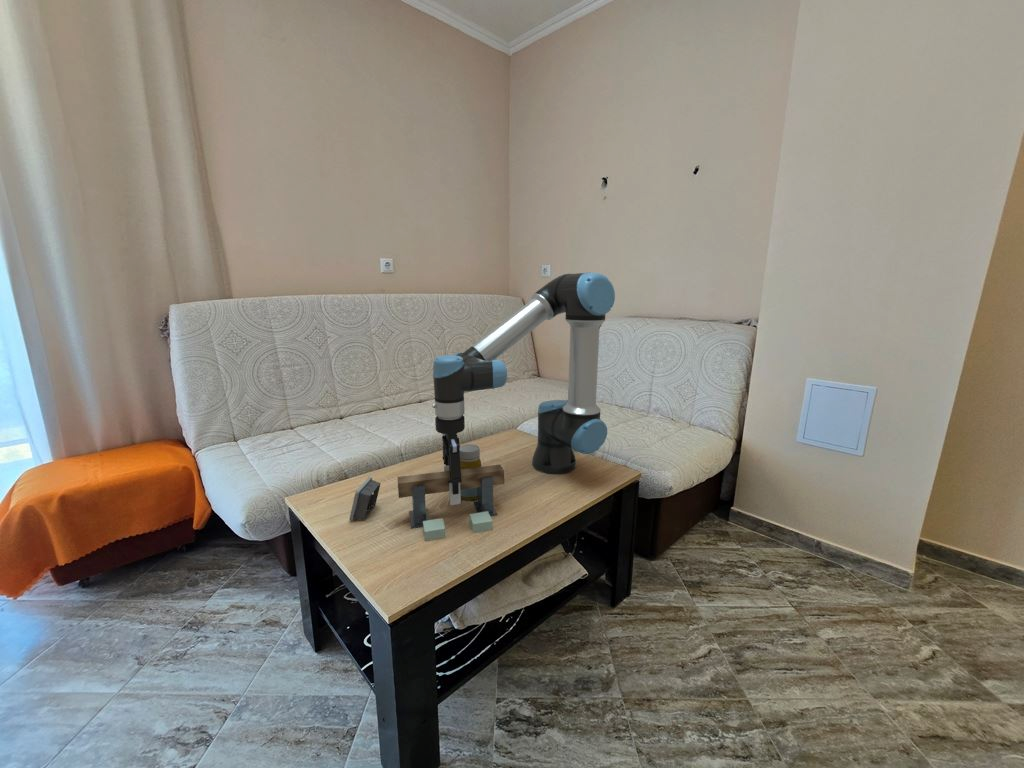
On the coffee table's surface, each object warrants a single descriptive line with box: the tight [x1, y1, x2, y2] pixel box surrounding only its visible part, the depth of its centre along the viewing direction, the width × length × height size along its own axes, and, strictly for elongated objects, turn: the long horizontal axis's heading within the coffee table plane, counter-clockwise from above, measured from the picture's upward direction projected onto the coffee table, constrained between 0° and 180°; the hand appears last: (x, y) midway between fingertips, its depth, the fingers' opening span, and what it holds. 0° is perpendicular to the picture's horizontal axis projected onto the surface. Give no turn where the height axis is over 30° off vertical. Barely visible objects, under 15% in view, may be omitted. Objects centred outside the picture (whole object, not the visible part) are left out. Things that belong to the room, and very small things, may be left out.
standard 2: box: [473, 476, 498, 517], centre depth 115 cm, size 5×8×11 cm, turn 17°
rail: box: [397, 464, 505, 499], centre depth 112 cm, size 28×4×4 cm, turn 107°
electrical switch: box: [349, 476, 381, 522], centre depth 114 cm, size 9×5×9 cm, turn 176°
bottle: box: [460, 444, 482, 501], centre depth 123 cm, size 7×7×15 cm
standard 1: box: [408, 485, 431, 530], centre depth 110 cm, size 5×8×11 cm, turn 17°
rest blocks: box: [422, 511, 494, 542], centre depth 106 cm, size 17×5×2 cm, turn 107°
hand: (452, 495), depth 113 cm, fingers open, 9 cm apart
